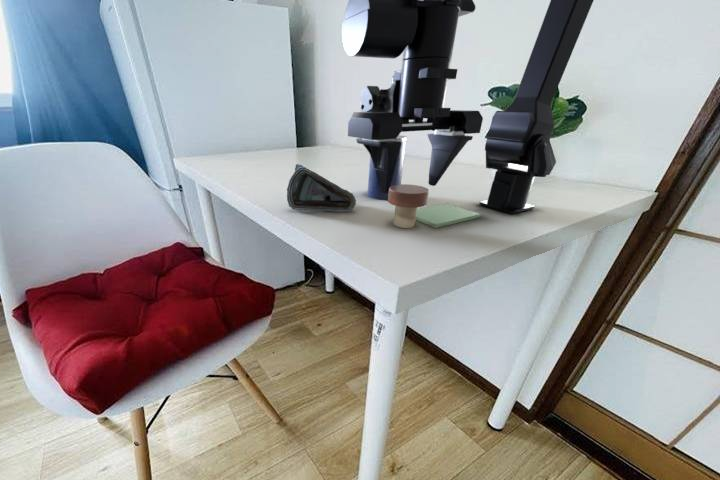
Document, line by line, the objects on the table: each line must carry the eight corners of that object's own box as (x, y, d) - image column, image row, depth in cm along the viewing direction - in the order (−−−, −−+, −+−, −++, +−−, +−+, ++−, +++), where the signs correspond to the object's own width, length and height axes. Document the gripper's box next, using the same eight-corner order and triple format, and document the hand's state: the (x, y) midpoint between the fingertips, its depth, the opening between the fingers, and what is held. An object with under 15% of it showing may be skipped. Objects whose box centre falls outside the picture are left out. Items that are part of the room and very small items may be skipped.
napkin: (445, 206, 55) (446, 203, 55) (479, 217, 50) (480, 214, 49) (403, 214, 51) (403, 211, 51) (435, 228, 46) (436, 224, 45)
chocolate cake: (359, 202, 59) (317, 154, 58) (360, 202, 52) (312, 147, 51) (322, 235, 60) (281, 190, 60) (319, 239, 54) (272, 188, 53)
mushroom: (405, 216, 50) (409, 182, 48) (430, 227, 46) (437, 190, 43) (378, 222, 48) (381, 186, 45) (402, 233, 44) (407, 195, 41)
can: (385, 189, 66) (391, 134, 61) (406, 196, 61) (414, 137, 56) (360, 193, 63) (364, 135, 58) (380, 201, 58) (386, 139, 53)
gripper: (431, 69, 47) (417, 172, 55) (326, 63, 39) (326, 185, 47) (498, 61, 39) (470, 185, 46) (381, 52, 31) (369, 203, 38)
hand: (409, 188), depth 45 cm, fingers open, 9 cm apart
